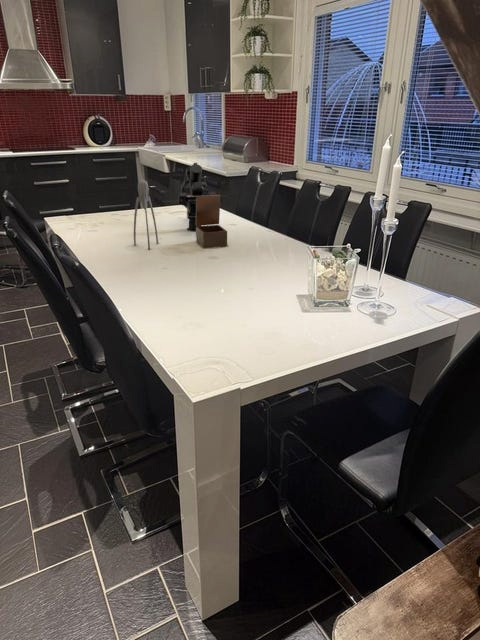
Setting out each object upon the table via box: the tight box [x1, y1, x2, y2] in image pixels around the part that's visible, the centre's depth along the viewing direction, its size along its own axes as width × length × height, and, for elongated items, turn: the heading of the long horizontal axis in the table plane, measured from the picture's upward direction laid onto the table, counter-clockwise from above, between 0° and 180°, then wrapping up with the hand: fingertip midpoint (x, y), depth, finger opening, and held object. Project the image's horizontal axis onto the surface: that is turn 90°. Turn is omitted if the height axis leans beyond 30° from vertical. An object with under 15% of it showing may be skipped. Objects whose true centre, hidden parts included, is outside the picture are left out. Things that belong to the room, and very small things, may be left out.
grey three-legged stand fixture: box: [133, 179, 159, 251], centre depth 213 cm, size 11×10×30 cm
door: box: [196, 194, 221, 226], centre depth 223 cm, size 14×12×1 cm
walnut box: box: [195, 224, 228, 249], centre depth 223 cm, size 14×12×7 cm
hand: (199, 211), depth 230 cm, fingers open, 9 cm apart
